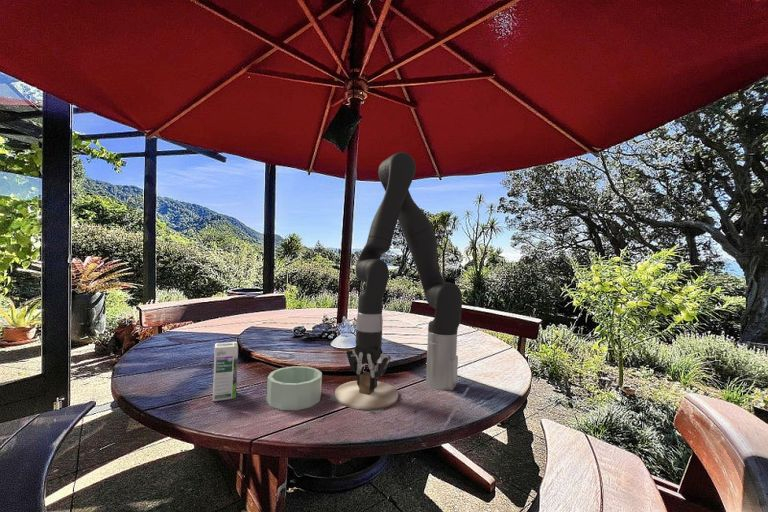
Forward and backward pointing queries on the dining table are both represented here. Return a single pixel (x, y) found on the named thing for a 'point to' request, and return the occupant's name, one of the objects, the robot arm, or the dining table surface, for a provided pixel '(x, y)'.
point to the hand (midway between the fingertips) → (366, 388)
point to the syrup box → (225, 371)
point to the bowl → (294, 387)
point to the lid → (366, 394)
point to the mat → (367, 410)
